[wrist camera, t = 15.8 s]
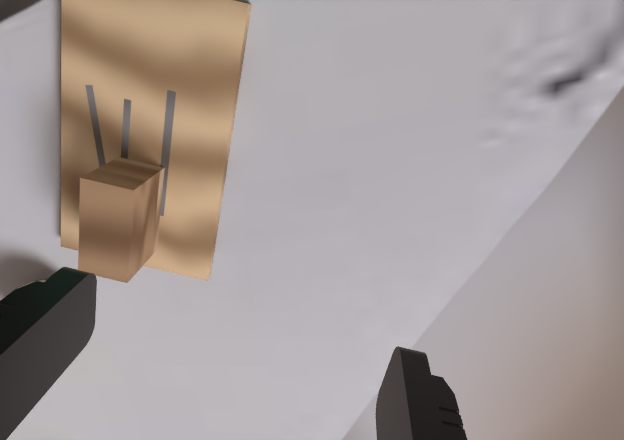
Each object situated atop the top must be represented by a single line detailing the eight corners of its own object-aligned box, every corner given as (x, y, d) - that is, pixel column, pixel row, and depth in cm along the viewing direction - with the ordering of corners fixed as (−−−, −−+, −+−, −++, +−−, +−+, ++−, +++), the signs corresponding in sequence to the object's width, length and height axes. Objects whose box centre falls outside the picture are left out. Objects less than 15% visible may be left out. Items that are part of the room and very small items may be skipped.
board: (70, -39, 35) (61, -41, 34) (251, 4, 35) (248, 3, 34) (68, 240, 44) (60, 246, 43) (210, 274, 44) (206, 280, 43)
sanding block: (118, 157, 39) (80, 177, 33) (164, 167, 39) (133, 190, 34) (114, 239, 42) (78, 271, 37) (156, 249, 42) (127, 282, 37)
